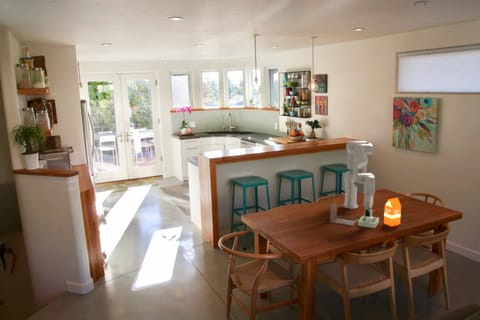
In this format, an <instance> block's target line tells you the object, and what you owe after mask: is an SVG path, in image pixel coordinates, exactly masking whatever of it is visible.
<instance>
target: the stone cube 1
mask: <svg viewBox="0 0 480 320" xmlns="http://www.w3.org/2000/svg"><path fill="white" fill-rule="evenodd" d="M373 217H374V216H373V215H372V216H371V217H366V222H368V223H373Z"/></svg>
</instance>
